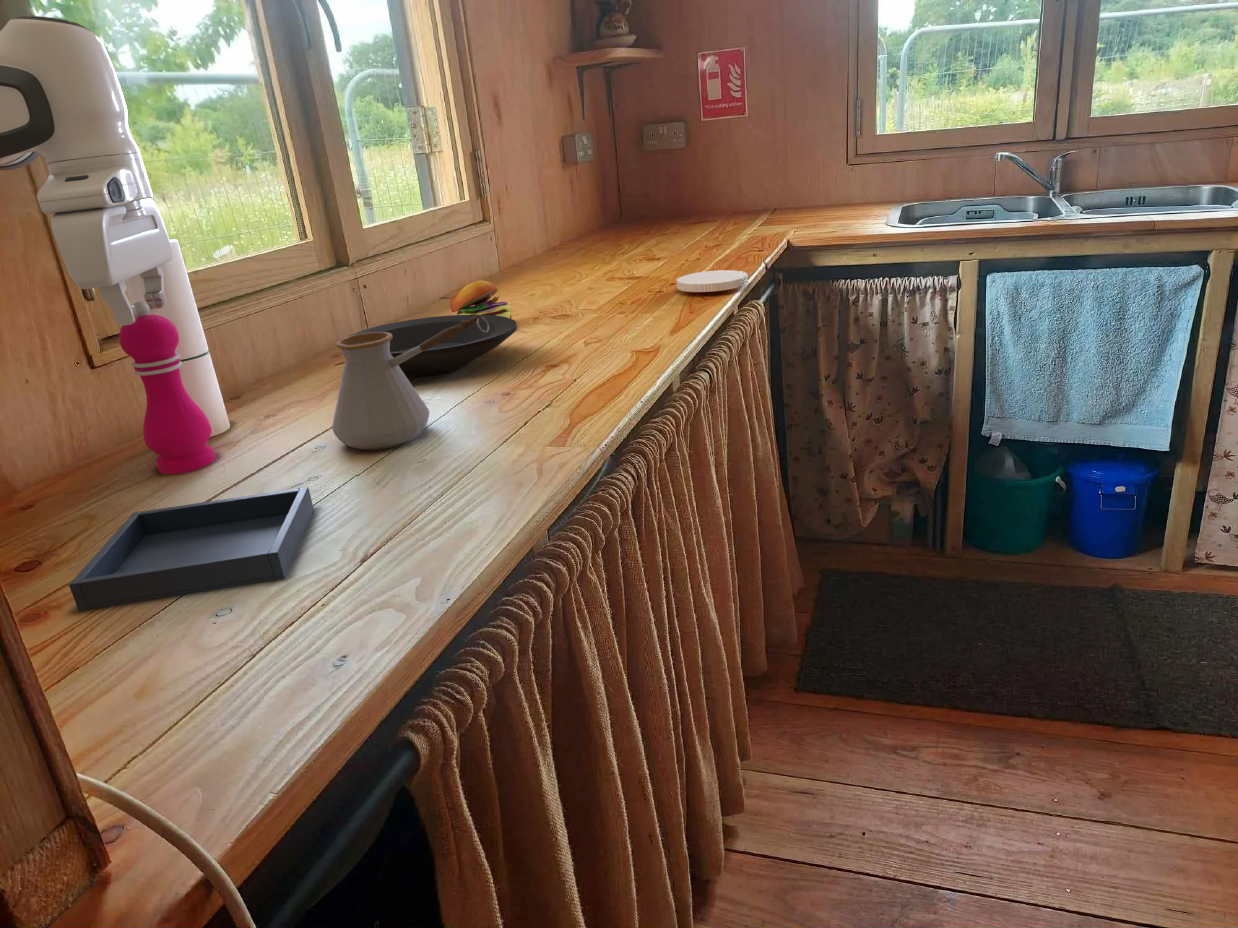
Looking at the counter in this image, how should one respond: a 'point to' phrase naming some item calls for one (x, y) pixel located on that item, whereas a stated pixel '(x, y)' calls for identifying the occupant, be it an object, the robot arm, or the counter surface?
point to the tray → (196, 549)
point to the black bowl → (450, 352)
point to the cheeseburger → (479, 300)
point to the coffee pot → (382, 391)
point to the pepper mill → (166, 395)
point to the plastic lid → (712, 281)
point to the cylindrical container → (187, 338)
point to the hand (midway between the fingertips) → (144, 315)
